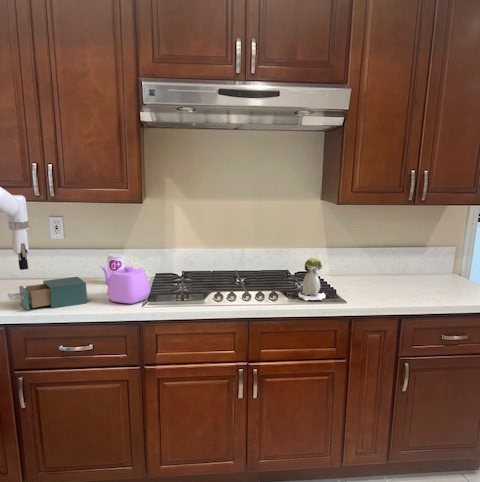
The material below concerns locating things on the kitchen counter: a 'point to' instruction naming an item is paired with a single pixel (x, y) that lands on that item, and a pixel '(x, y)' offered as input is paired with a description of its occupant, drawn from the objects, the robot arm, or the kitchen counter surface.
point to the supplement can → (115, 262)
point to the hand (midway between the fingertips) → (23, 269)
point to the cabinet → (66, 291)
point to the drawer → (33, 296)
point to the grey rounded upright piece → (312, 281)
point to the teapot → (127, 285)
